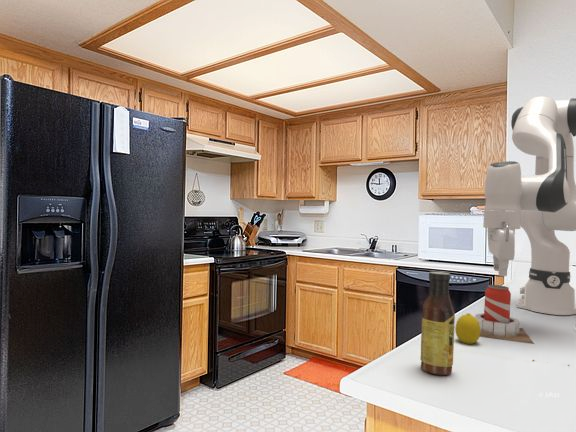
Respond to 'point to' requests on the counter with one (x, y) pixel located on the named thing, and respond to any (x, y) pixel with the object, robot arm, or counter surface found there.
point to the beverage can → (497, 303)
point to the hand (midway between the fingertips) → (499, 273)
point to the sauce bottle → (438, 327)
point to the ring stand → (521, 338)
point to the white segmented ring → (498, 327)
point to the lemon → (468, 329)
